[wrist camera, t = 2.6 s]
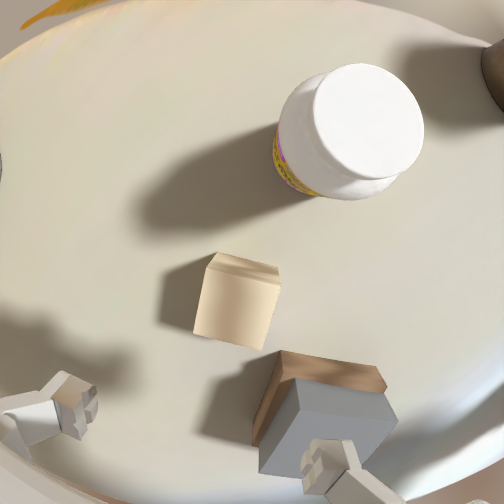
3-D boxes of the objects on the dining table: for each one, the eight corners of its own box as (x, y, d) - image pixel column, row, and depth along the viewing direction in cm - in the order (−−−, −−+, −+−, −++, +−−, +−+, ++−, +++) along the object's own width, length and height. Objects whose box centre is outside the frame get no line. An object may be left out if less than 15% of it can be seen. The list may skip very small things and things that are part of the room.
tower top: (384, 393, 22) (398, 421, 18) (339, 453, 24) (346, 480, 20) (295, 377, 22) (300, 409, 18) (259, 442, 24) (258, 473, 20)
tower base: (374, 363, 26) (387, 386, 22) (336, 430, 28) (343, 454, 24) (280, 347, 26) (283, 372, 22) (253, 419, 28) (252, 445, 24)
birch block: (277, 266, 24) (281, 286, 19) (261, 320, 25) (261, 350, 20) (217, 251, 24) (206, 267, 19) (205, 306, 25) (192, 333, 20)
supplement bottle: (259, 129, 21) (255, 61, 9) (335, 105, 21) (402, 32, 8) (289, 207, 23) (323, 229, 10) (364, 181, 22) (462, 178, 9)
